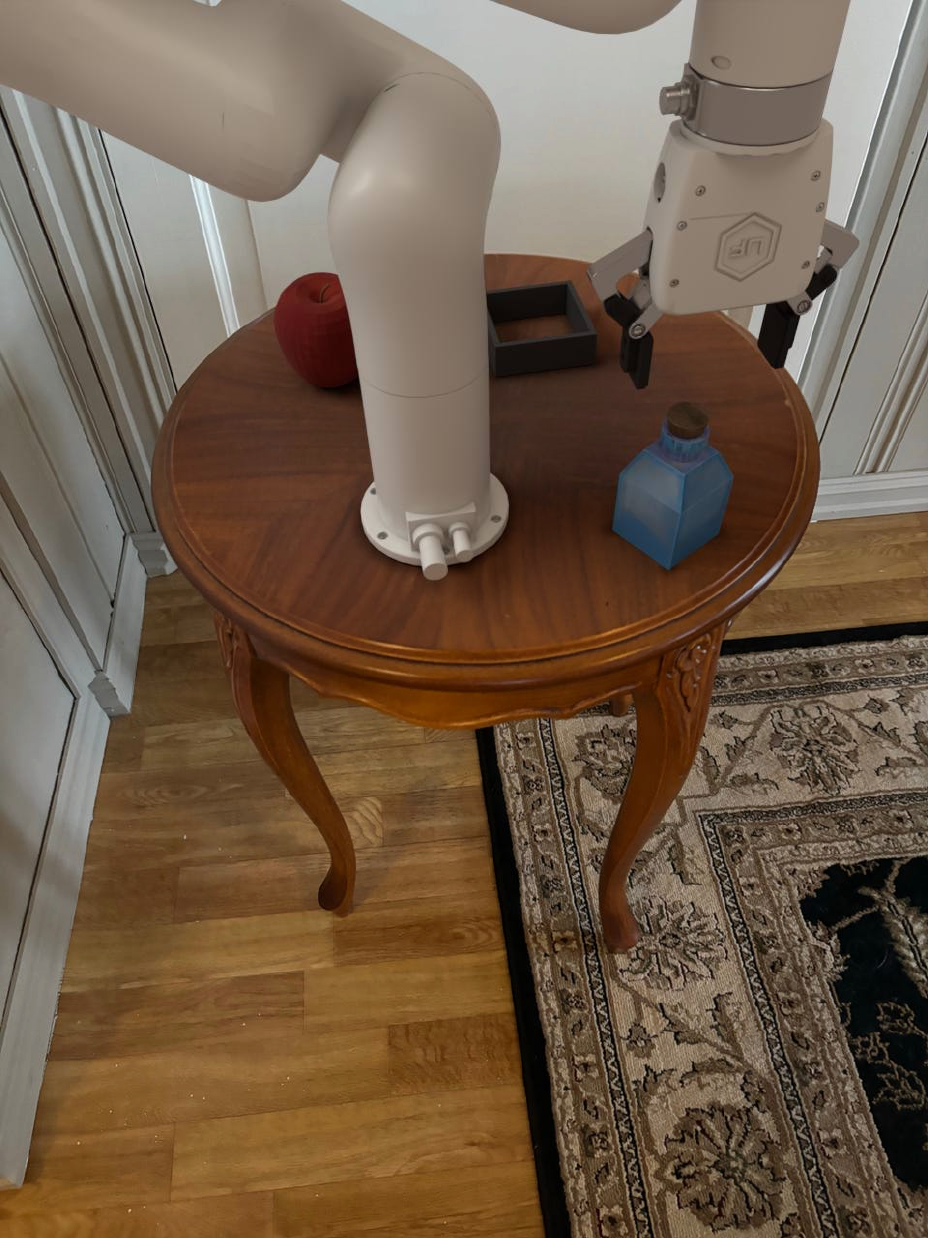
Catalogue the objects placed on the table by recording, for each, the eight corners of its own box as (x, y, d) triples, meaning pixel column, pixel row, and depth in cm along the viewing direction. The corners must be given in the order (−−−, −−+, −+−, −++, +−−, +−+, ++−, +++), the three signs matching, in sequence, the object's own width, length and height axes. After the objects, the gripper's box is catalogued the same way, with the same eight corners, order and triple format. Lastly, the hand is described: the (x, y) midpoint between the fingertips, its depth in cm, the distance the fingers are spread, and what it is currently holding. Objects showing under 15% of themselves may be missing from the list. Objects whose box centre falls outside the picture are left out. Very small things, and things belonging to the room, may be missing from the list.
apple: (300, 415, 86) (280, 322, 78) (275, 362, 91) (255, 271, 84) (393, 390, 88) (382, 297, 80) (363, 340, 93) (351, 249, 86)
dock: (594, 364, 89) (597, 333, 87) (495, 377, 89) (495, 346, 86) (569, 309, 96) (571, 279, 93) (476, 321, 95) (475, 291, 92)
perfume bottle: (718, 533, 74) (749, 416, 64) (668, 570, 71) (693, 453, 62) (662, 496, 77) (684, 378, 68) (612, 529, 74) (627, 413, 65)
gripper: (619, 147, 45) (596, 418, 59) (937, 107, 47) (845, 381, 60) (581, 92, 50) (568, 354, 63) (871, 57, 52) (799, 321, 65)
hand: (702, 367), depth 62 cm, fingers open, 9 cm apart
